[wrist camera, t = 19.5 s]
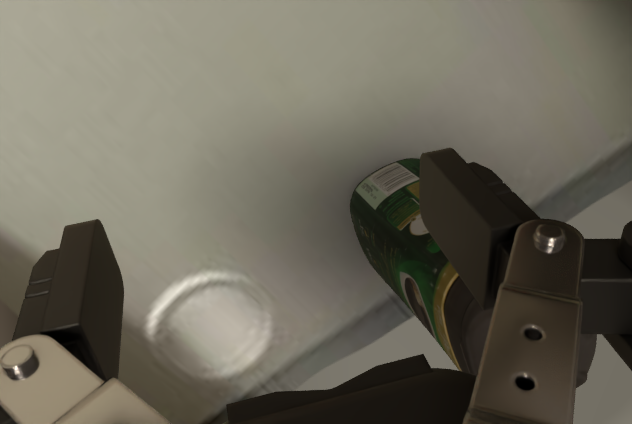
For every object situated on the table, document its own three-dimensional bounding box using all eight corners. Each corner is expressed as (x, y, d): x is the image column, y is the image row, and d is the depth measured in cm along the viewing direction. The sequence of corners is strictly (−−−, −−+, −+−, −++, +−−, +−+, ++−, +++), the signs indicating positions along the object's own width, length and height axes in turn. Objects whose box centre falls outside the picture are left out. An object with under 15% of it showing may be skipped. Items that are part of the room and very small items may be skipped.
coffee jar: (455, 237, 48) (625, 381, 31) (372, 281, 47) (504, 451, 31) (425, 138, 43) (608, 247, 27) (333, 184, 42) (464, 325, 26)
